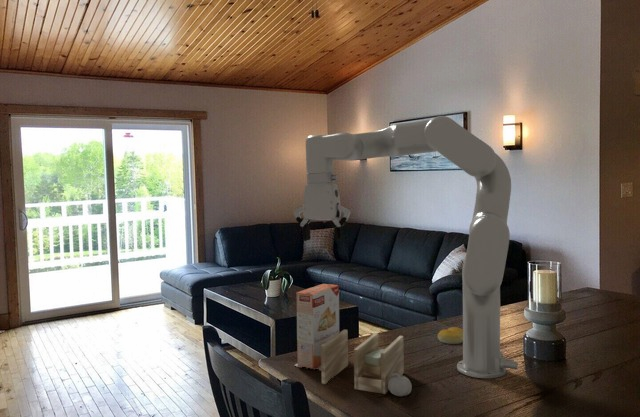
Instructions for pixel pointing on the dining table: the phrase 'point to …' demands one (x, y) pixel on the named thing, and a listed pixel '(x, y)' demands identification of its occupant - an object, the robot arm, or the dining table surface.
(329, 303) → the cracker box
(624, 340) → the dining table surface
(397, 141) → the robot arm
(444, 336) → the bread roll
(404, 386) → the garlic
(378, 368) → the offcut
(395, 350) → the rack
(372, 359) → the offcut
